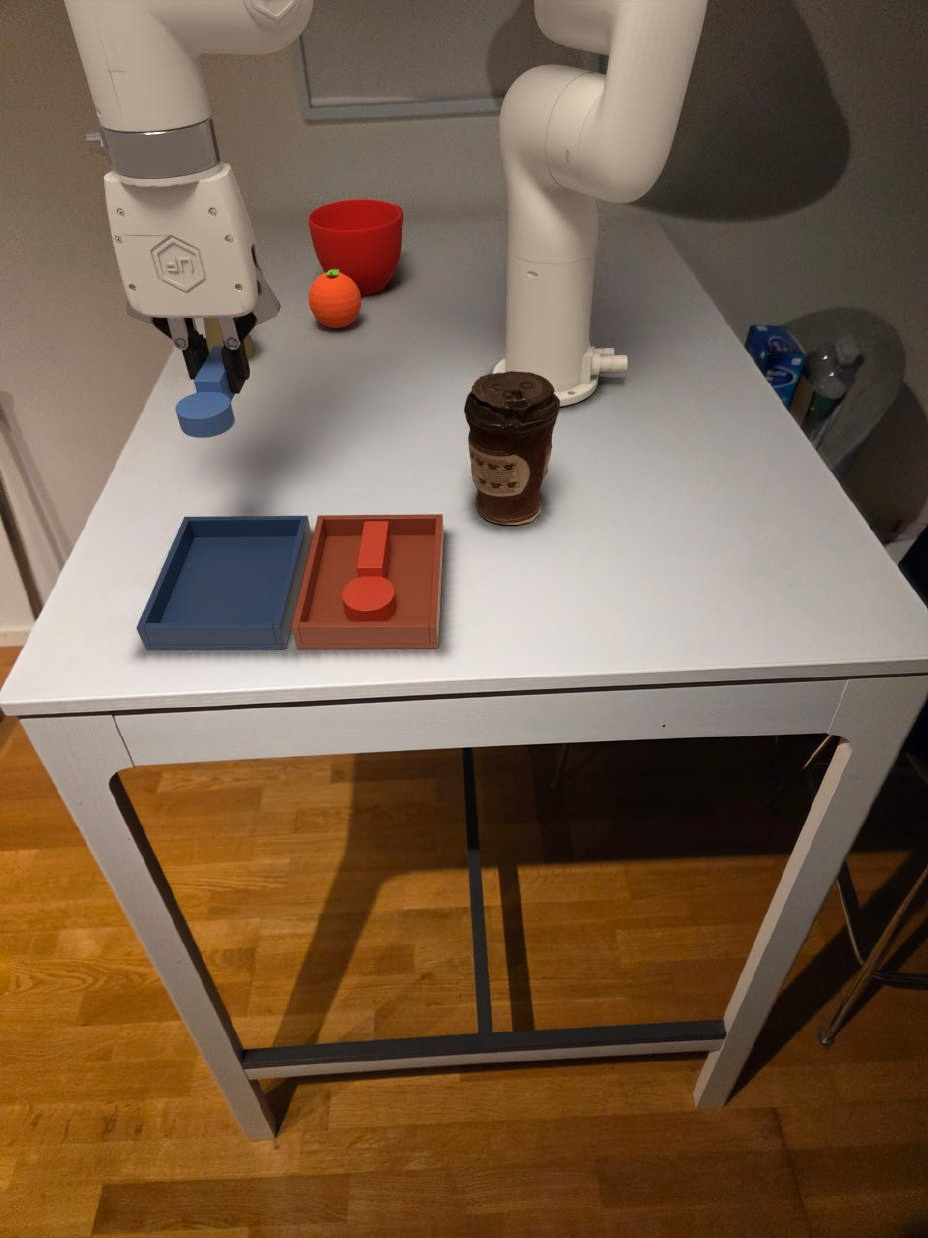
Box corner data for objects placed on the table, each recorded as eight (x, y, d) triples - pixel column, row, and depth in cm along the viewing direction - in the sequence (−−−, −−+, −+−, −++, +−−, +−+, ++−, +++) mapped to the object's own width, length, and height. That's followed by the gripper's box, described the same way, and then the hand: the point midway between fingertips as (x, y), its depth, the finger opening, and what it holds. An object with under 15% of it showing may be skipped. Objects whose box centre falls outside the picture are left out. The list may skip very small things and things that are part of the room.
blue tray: (312, 537, 76) (308, 515, 74) (285, 649, 65) (279, 627, 63) (191, 538, 76) (184, 516, 74) (145, 650, 65) (135, 627, 64)
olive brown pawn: (244, 365, 101) (223, 276, 93) (199, 361, 101) (175, 274, 94) (262, 343, 105) (243, 257, 97) (219, 340, 106) (198, 254, 98)
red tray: (443, 535, 75) (442, 513, 73) (438, 648, 65) (436, 626, 63) (321, 537, 76) (317, 515, 74) (296, 649, 65) (291, 627, 63)
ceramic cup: (438, 270, 121) (435, 199, 114) (371, 312, 111) (363, 237, 104) (370, 255, 126) (363, 186, 119) (300, 293, 116) (288, 220, 109)
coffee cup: (523, 546, 74) (529, 422, 65) (448, 518, 77) (443, 397, 68) (566, 498, 79) (576, 377, 70) (494, 474, 82) (495, 355, 73)
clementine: (318, 311, 111) (310, 259, 106) (367, 310, 111) (362, 258, 106) (308, 337, 106) (299, 283, 101) (360, 336, 105) (354, 282, 100)
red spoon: (355, 545, 74) (352, 520, 72) (403, 544, 73) (400, 520, 72) (341, 626, 66) (337, 601, 64) (394, 626, 66) (391, 601, 64)
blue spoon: (208, 374, 72) (200, 345, 70) (256, 374, 72) (250, 345, 70) (174, 438, 65) (164, 407, 63) (227, 438, 64) (219, 407, 62)
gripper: (32, 165, 54) (118, 408, 67) (263, 163, 54) (306, 408, 67) (74, 136, 60) (146, 366, 73) (285, 133, 59) (320, 365, 72)
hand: (222, 384), depth 70 cm, fingers closed on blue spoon, 2 cm apart
